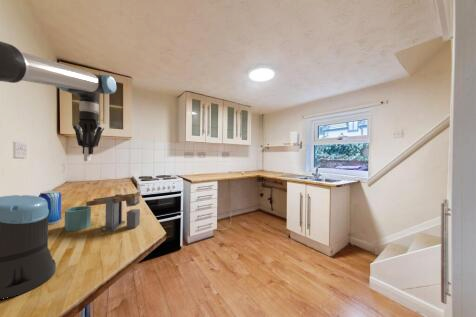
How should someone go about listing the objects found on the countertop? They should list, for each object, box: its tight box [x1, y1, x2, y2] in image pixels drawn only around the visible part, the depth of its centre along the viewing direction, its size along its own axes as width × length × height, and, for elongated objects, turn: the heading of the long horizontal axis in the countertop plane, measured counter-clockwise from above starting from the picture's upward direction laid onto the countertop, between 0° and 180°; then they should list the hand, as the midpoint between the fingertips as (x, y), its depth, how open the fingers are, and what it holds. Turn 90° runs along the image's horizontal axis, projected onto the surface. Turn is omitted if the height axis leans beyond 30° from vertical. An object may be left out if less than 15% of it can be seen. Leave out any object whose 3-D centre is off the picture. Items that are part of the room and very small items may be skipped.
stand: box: [101, 193, 126, 232], centre depth 91 cm, size 11×5×15 cm, turn 6°
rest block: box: [126, 208, 141, 229], centre depth 92 cm, size 5×4×8 cm
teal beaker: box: [64, 205, 92, 232], centre depth 90 cm, size 9×9×9 cm
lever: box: [85, 191, 141, 208], centre depth 96 cm, size 22×15×6 cm
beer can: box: [38, 190, 62, 226], centre depth 94 cm, size 8×8×16 cm
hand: (87, 160), depth 89 cm, fingers closed
